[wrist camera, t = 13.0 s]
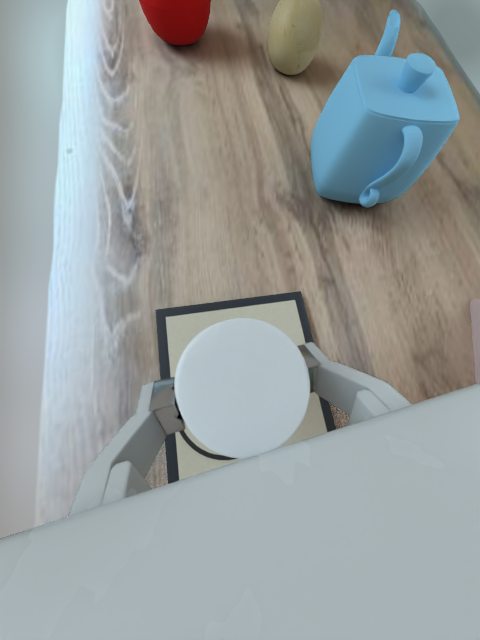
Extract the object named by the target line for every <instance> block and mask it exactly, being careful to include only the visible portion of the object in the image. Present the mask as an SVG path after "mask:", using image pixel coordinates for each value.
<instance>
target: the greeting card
mask: <svg viewBox="0 0 480 640" xmlns="http://www.w3.org/2000/svg"><path fill="white" fill-rule="evenodd" d="M470 308H471V323H472V337H473V351H474V366H475V380H476V384H477V383H480V298H479V299H476V300H472V301H470Z"/></svg>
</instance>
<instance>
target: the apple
mask: <svg viewBox="0 0 480 640" xmlns="http://www.w3.org/2000/svg"><path fill="white" fill-rule="evenodd" d="M321 29H322V8H321V4H320V2H319V0H280V1H279V3H278V5H277V6H276V9H275V11H274V13H273V16H272V19H271V23H270V28H269V36H268V50H269V57H270V60H271V63H272V65H273V66H274V67H275V68H276V69H277V70H278V71H280V72H282V73H284V74H287V75H295V74H298V73H300V72H302V71H303V70H305V69H306V68H307V67H308V65H309V64H310V63H311V61H312V60H313V58H314V56H315V53H316V51H317V48H318V45H319V41H320V36H321Z"/></svg>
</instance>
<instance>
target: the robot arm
mask: <svg viewBox="0 0 480 640" xmlns="http://www.w3.org/2000/svg"><path fill="white" fill-rule="evenodd" d="M297 347H298V349H299V350H300V352H301V354H302V356H303V358H304V360H305V362H306V365H307V368H308V372H309V379H310V393H314V392H315V393H316V394H317V395H319V396H320V397H322V398H323V399H325V400H326V401H328V402H329V403H331V404H333V405H334V406H336V407H337V408H339V409H340V410H342V411H343V412H345V413H346V414H348V415H349V416H350V417H349V421H348V424H347V426H345V427H342V428H339V429H336V430H333V431H330V432H327V433H323V434H320V435H317V436H314V437H311V438H308V439H305V440H302V441H299V442H296V443H293V444H290V445H286V446H283V447H280V448H277V449H274V450H271V451H268V452H265V453H262V454H259V455H256V456H253V457H250V458H247V459H244V460H240V461H237V462H234V463H231V464H228V465H225V466H222V467H219V468H216V469H213V470H210V471H207V472H204V473H201V474H197V475H194V476H191V477H188V478H185V479H182V480H179V481H176V482H173V483H170V484H167V485H164V486H161V487H158V488H154V489H152V488H151V487H150V485H149V484H148V483H147V482H146V480H145V479H144V478H145V476H146V475H147V473H148V471H149V469H150V467H151V465H152V463H153V461H154V460H155V458H156V456H157V454H158V452H159V450H160V448H161V446H162V445H163V443H164V441H165V439H166V437H167V436H166V435H169V434H172V433H175V432H179V431H182V430H185V429H186V423H185V421H184V419H183V418H182V415H181V413H180V410H179V408H178V405H177V402H176V397H175V388H174V381H175V377H171V378H167V379H163V380H158V381H155V382H151V383H146V384H144V385H143V386H142V389H141V393H140V398H139V402H138V406H137V411H136V415H134V416H132V417H131V418H130V419H129V420H128V421H127V422H126V424H125V425H124V426H123V427H122V428H121V430H120V431H119V432H118V433H117V434H116V435H115V437H114V438H113V439H112V440H111V441H110V442H109V444H108V445H107V446H106V447H105V448H104V449H103V451H102V452H101V453H100V454H99V455H98V457H97V458H96V459H95V460H94V461H93V462H92V464H91V465H90V466H89V467H88V468H87V469H86V471H85V472H84V474H83V477H82V479H81V482H80V485H79V487H78V490H77V493H76V495H75V498H74V501H73V504H72V506H71V509H70V512H69V514H68V517H65V518H62V519H59V520H56V521H53V522H50V523H47V524H44V525H41V526H37V527H34V528H31V529H28V530H25V531H22V532H19V533H16V534H13V535H10V536H7V537H4V538H1V539H0V640H480V383H477V384H474V385H471V386H468V387H465V388H462V389H459V390H456V391H453V392H450V393H446V394H443V395H440V396H437V397H434V398H431V399H428V400H425V401H422V402H419V403H416V404H413V405H412V404H411V403H410V402H409V401H407V400H406V399H405V398H404V397H403V396H402V395H401V394H400V393H398V392H397V391H396V390H395V389H394V388H393V387H392V386H391V385H390V384H388V383H387V382H385V381H383V380H380V379H378V378H375V377H373V376H370V375H368V374H365V373H363V372H360V371H358V370H355V369H353V368H350V367H347V366H345V365H342V364H340V363H337V362H335V361H333V362H331V361H330V360H329V359H328V358H327V357H326V356H325V355H324V353H323V352H322V351H321V350H320V349H319V348H318V347H317V346H316V345H315V344H314V343H313V342H309V343H305V344H302V345H298V346H297Z"/></svg>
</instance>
